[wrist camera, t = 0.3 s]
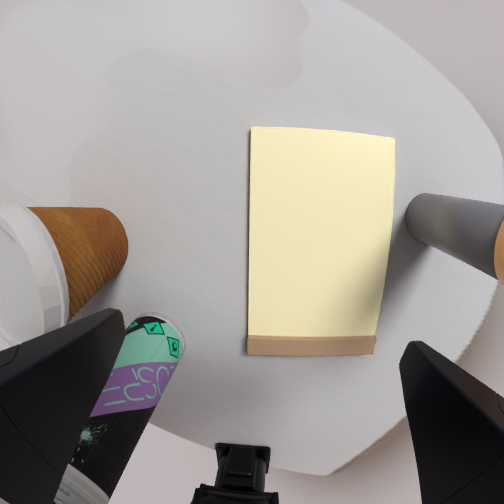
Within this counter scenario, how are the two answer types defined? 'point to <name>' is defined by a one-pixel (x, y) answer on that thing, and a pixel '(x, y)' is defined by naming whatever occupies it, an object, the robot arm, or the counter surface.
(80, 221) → the disposable coffee cup
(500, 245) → the ball
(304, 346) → the legal pad
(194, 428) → the counter surface
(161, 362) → the spray can
